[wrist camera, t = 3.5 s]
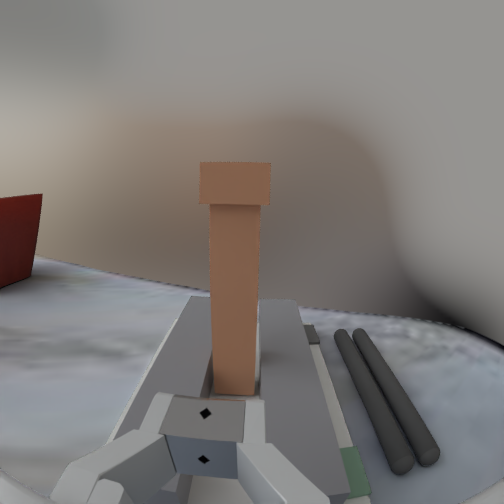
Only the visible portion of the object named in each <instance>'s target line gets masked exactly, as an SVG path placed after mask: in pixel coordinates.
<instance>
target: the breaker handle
mask: <svg viewBox="0 0 504 504" xmlns="http://www.w3.org/2000/svg"><path fill="white" fill-rule="evenodd" d="M270 172H271V163H254V162H200V185H199V193H200V194H199V204H210V216H209V219H210V220H209V221H210V222H209V227H210V228H209V234H210V237H209V238H210V300H211V330H212V353H213V372H214V388H215V393H219V394H236V395H254V387H255V361H256V334H257V305H258V274H259V242H260V206H261V205H270Z"/></svg>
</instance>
